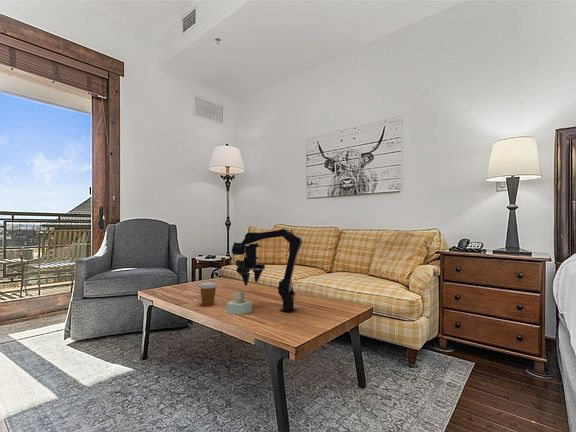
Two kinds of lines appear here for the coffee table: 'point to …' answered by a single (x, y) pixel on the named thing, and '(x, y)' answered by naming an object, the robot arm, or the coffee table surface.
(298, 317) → the coffee table surface
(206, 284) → the disposable coffee cup
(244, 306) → the green square frame
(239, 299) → the beige rectangular block
